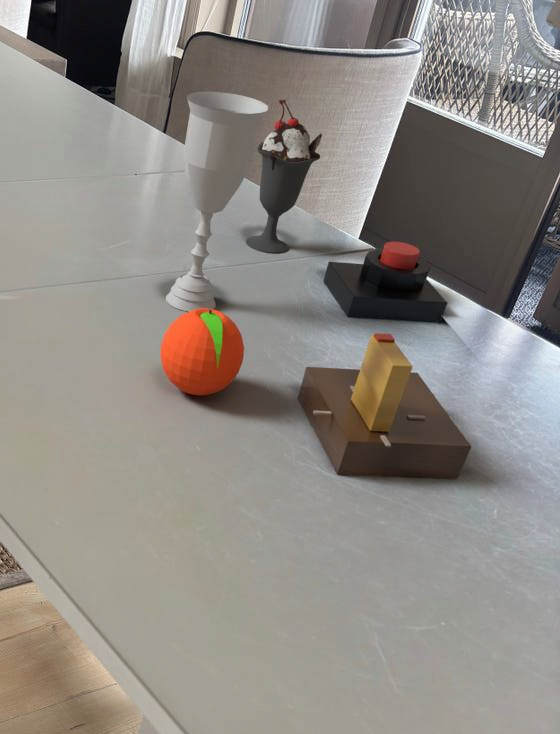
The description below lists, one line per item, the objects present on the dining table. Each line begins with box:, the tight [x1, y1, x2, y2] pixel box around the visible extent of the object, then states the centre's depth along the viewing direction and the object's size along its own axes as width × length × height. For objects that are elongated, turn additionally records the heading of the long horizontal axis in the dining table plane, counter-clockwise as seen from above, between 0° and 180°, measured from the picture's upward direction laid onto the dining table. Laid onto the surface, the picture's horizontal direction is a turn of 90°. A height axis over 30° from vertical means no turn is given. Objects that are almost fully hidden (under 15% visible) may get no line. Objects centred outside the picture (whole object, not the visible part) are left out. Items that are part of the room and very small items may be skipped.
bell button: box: [380, 241, 421, 270], centre depth 100 cm, size 4×4×2 cm
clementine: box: [160, 308, 245, 396], centre depth 81 cm, size 8×7×7 cm
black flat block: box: [322, 248, 448, 324], centre depth 101 cm, size 10×9×4 cm
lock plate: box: [297, 366, 472, 480], centre depth 79 cm, size 12×13×3 cm
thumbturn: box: [351, 332, 413, 432], centre depth 75 cm, size 5×2×6 cm, turn 6°
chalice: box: [165, 91, 269, 312], centre depth 91 cm, size 7×7×18 cm
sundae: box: [245, 99, 323, 254], centre depth 106 cm, size 7×7×15 cm
